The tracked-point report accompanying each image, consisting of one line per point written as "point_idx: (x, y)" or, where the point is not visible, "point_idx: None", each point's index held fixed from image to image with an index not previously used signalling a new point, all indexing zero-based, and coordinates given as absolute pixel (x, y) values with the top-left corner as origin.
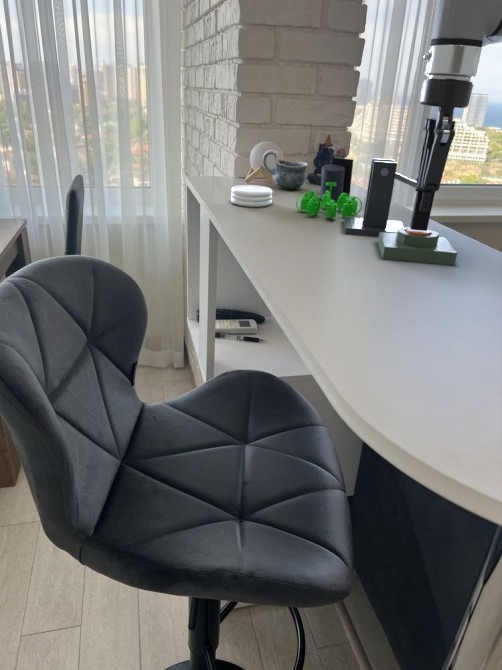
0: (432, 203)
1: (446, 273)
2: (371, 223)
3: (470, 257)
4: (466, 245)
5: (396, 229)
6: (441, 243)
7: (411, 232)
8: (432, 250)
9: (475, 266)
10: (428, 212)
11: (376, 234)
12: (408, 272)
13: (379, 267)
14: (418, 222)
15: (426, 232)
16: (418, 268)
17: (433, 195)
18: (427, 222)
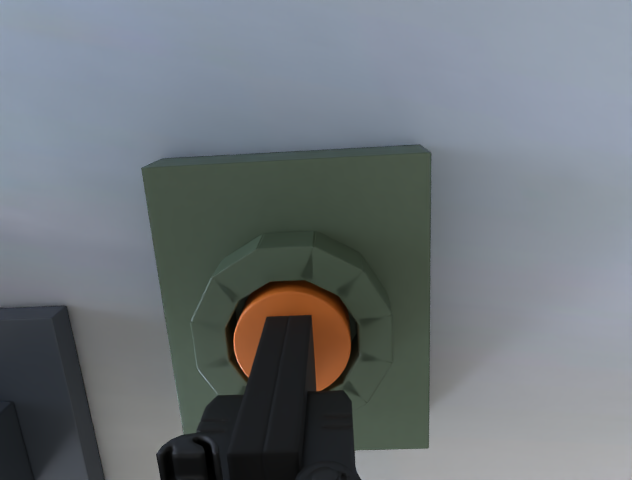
0: (304, 401)
1: (542, 195)
2: (20, 471)
3: (254, 38)
4: (26, 16)
5: (8, 359)
6: (277, 204)
7: (334, 378)
8: (424, 264)
9: (401, 42)
10: (306, 377)
11: (88, 427)
12: (562, 338)
13: (525, 429)
14: (313, 382)
15: (320, 312)
16: (501, 297)
17: (297, 441)
18: (310, 341)
